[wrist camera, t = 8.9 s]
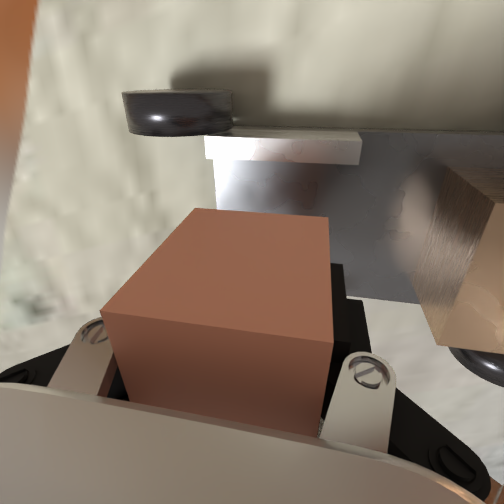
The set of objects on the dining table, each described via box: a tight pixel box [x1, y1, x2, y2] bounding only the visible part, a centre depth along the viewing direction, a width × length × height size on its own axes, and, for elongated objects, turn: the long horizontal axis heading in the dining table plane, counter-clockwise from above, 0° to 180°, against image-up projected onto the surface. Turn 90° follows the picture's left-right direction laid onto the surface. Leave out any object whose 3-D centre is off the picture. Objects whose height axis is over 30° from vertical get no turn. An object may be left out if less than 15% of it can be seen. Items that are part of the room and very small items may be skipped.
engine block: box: [100, 208, 334, 438], centre depth 10 cm, size 5×6×6 cm
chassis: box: [122, 89, 504, 387], centre depth 15 cm, size 23×14×9 cm, turn 91°
